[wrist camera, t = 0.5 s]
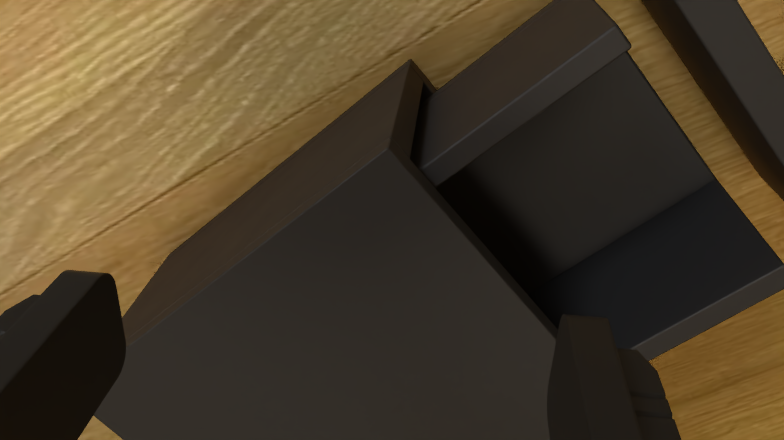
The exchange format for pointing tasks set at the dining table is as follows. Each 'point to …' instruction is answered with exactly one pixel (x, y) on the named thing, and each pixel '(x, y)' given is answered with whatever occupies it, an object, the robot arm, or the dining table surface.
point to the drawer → (611, 168)
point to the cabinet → (336, 307)
